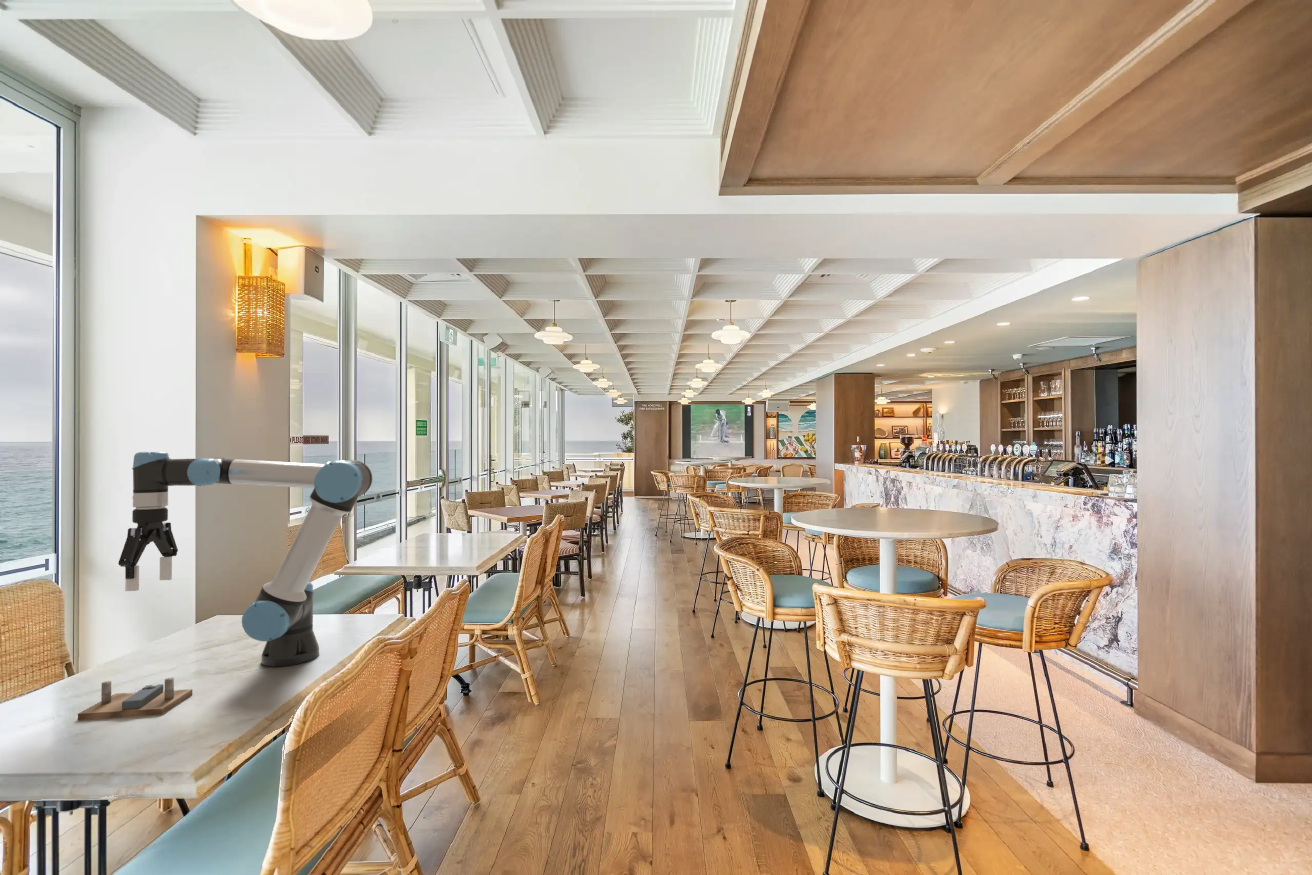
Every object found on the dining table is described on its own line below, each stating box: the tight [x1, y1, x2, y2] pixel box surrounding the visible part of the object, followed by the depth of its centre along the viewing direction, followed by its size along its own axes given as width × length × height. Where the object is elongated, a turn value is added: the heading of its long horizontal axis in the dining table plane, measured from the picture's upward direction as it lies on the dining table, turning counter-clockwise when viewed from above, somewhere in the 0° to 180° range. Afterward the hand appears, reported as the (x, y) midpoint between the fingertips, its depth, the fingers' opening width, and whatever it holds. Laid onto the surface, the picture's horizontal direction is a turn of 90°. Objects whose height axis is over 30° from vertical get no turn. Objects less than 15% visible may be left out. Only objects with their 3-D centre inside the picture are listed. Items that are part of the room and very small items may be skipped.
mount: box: [77, 677, 193, 721], centre depth 151 cm, size 18×12×6 cm, turn 99°
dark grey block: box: [122, 684, 164, 710], centre depth 151 cm, size 4×10×2 cm, turn 14°
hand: (149, 585), depth 167 cm, fingers open, 13 cm apart
